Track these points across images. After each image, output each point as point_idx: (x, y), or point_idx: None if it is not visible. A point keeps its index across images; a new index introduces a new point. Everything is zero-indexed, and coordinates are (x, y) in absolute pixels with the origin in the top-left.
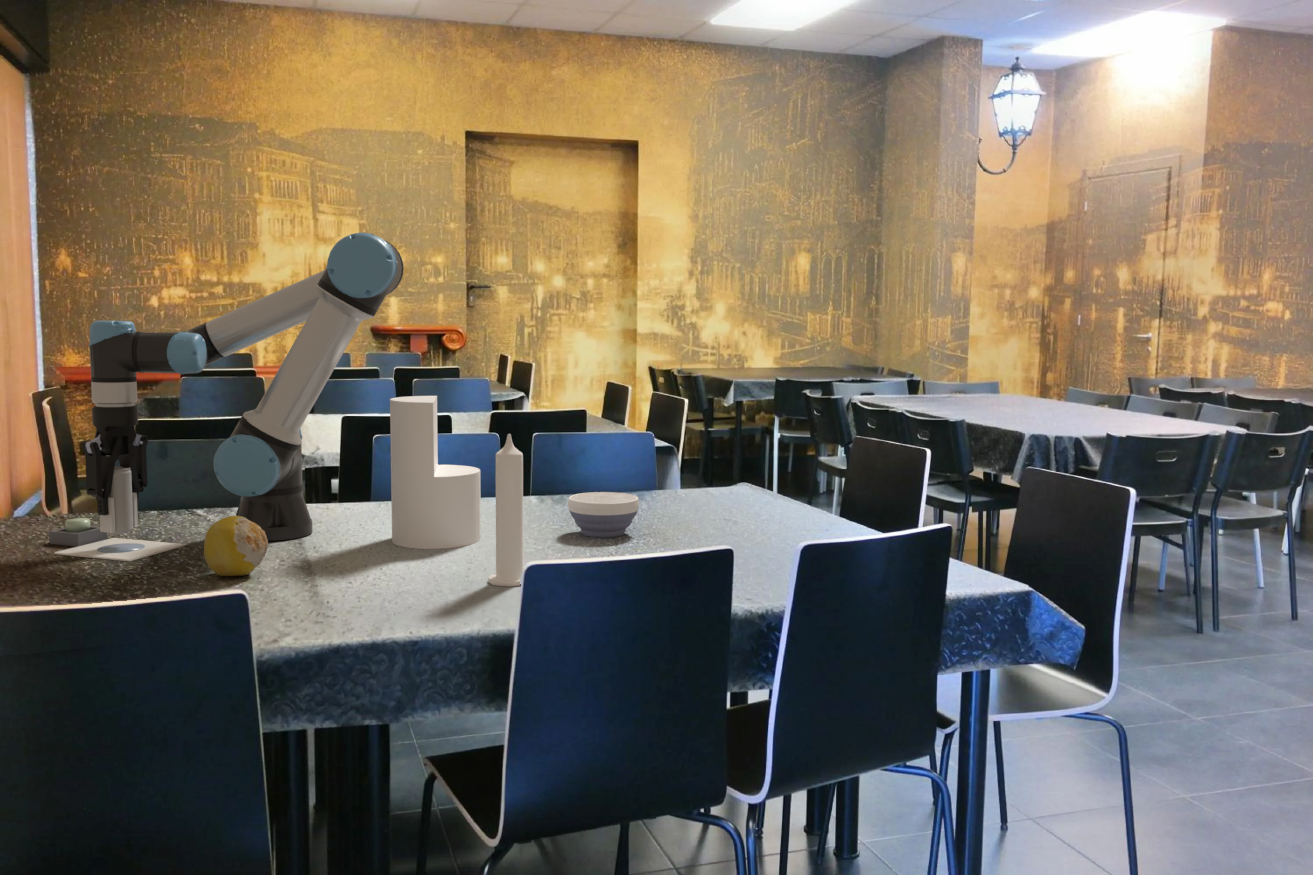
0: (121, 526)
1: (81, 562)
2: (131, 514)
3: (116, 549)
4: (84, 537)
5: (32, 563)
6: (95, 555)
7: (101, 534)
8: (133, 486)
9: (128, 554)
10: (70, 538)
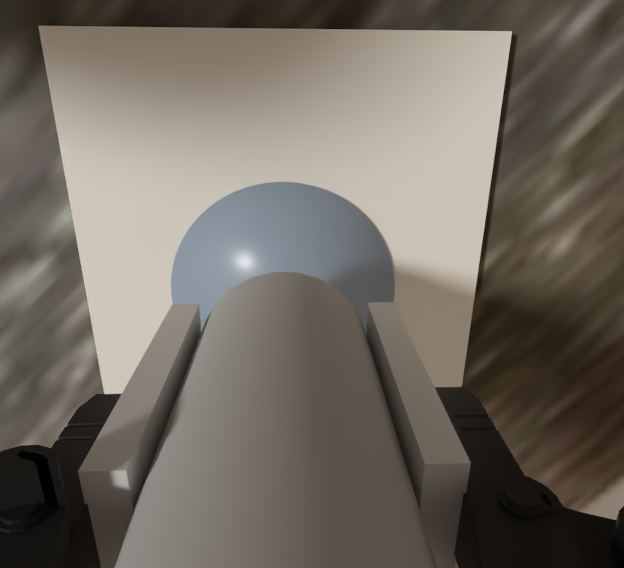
0: (336, 299)
1: (568, 256)
2: (248, 319)
3: None
4: None
5: (615, 418)
6: (460, 282)
7: None
8: (61, 565)
9: (394, 145)
10: None
